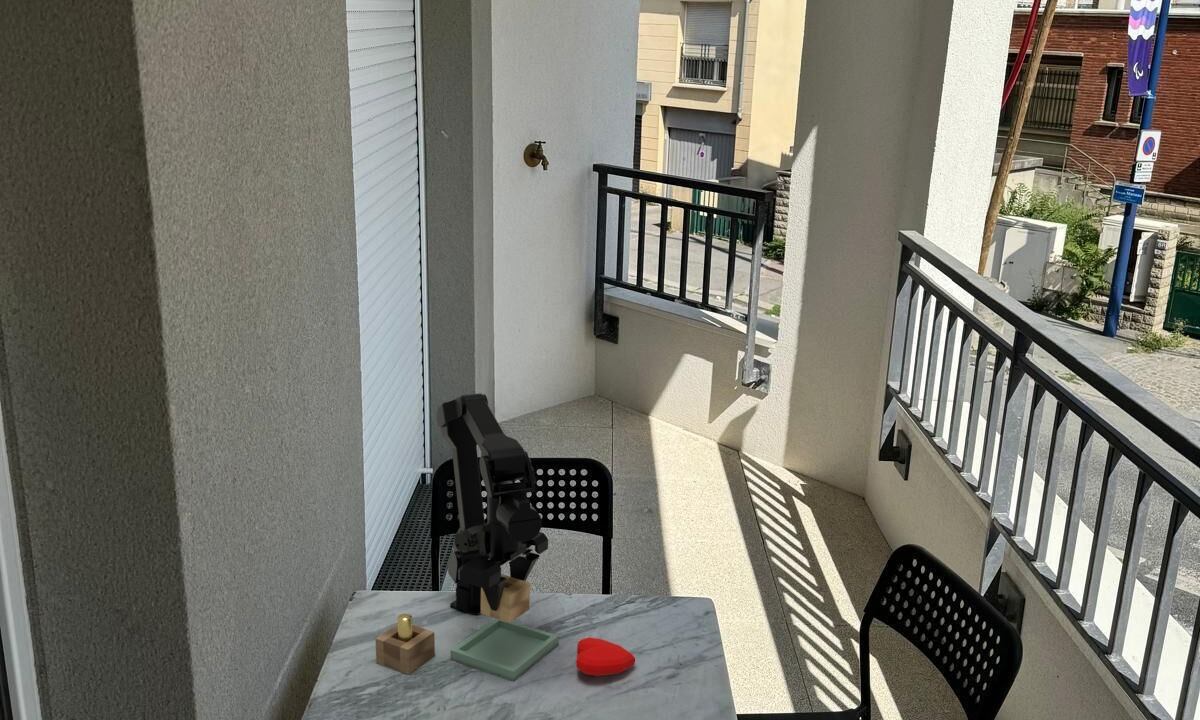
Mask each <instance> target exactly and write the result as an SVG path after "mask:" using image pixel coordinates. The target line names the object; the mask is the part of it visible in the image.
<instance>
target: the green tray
mask: <svg viewBox="0 0 1200 720" xmlns="http://www.w3.org/2000/svg"><path fill="white" fill-rule="evenodd" d="M559 639H560V638H559V635H558V634H554V633H551V632H548V631H545V630H542V629H539V628H536V627H533V626H530V625H526V624H523V623H520V622H517V621H515V620H513V621H512V622H510V623H508V622H505V621H502V620H499V619H496V618H494V619H492V620H491V621H490V622H488V623H486V624H485V625H484V626H483V627H481V628H480V629H478V630H477V631H476V632H474V633H472V635H470V636H469V637H467V638H466V639H464V640H463V641H461V642H460V643H459V644H457V645H455V646H454V647H453V648H451V649H450V660H451V661H454V662H457V663H459V664H462V665H466V666H468V667H470V668H471V667H472V668H474V669H476V670H480V671H482V672H485V673H488V674H491V675H494V676H497V677H501V678H502V679H506V680H509V681H511V682H514V681H516V680H517V679H518V678H519V677H521V676H522V675H523V674H524V673H526V672H527V671H528V670H530V669H531V668H532V667H533V666H534V665H536V664H537V663H539V661H540V660H542V659H543V658H544V657H545V656H547V655H548V654H549V653H550V652H551V651H553V650H555V648H557V647H558V646H559V645H560V644H559Z"/></svg>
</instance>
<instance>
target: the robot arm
mask: <svg viewBox="0 0 1200 720" xmlns="http://www.w3.org/2000/svg"><path fill="white" fill-rule="evenodd" d="M436 422H437V426H438V428H440V433H441V437H443V439H444V440H445V442H446V443H447V444H448V446H449V447H450V448H451V451H452V452H451V453H452V462H453V473H454V483H455V489H456V491H455V492H456V501H457V509H458V517H459V520H458V521H459V528H458V530H457V532H455V534H454V539H453V542H452V543H453V551H452V553H451V555H450V556H449V558H448V560H447V565H446V566H447V573H448V576H450V578H451V580H452V582H454V584H456V587H455V600H454V601H452V602H451V603H450V604H449V605H450V606H449V607H450V608H453V609H456V610H459V611H463V612H465V613H469V614H471V615H474V616H477V615H480V614H481V588H482V589H483V591H484V593H485V596H486V598H487V601H488V603H489V606H490V608H491V610H494V611H496V610H497V609H498V607H499V604H500V600H501V597H502V593H503V590H504V586H505V583H506V579H507V578H504V577H501V574H502V567H504V566H505V565H507V564H509V575H510V577H513V578H516V579H519V580H523V581H526V582H527V579H528V577H529V576H530V574H531V572H532V569H533V568H534V566H535V565H536V562H537V561H538V560H539V559H540V555H541V554H542V553H543V552H545V551H547V550H548V549H549V538H548V537H547V535H546V534H545V533H544V532H541V529H542V526H543V519H542V517H541V515H540V513H539V511H537V510H536V509H535V508H534V507H533V506H532V505H531V500H529V498H528V493H536V491H537V490H536V486H535V484H536V482H537V478H536V474H535V471H534V467H533V464H532V460H531V457H529V453H528V452H527V451H526V450H525V449H524V447H523V446H522V445H521V444H520V443H519V441H518V440H517V439H515V438H512V437H510V436H507V435H506V434H505V432H504V431H503V428H502V427H501V425H500V424H499V422H498V421H497V418H496V416H495V415H494V413H493V412H492V410H491V408H490V406H489V401H488V398H487V395H486V394H485V393H480V392H479V393H478V392H477V393H470V394H461V395H460V396H457V397H455V399H453V400H449V401H443V402H442V403H441V405H440V406H438V408H437V410H436ZM477 446H478V447H477ZM478 448H479V450H480V457H478V456H479V455H478ZM480 474H481V476H480ZM481 478H482V481H483V483H484V487H485V491H486V493H487V522H486V521H485V513H484V511H485V510H484V503H483V501H484V500H483V494H482V484H481V483H482V482H481ZM523 479H524V481H520V480H523ZM518 480H519V481H518ZM513 481H517V482H513ZM532 546H534V549H532ZM534 552H535V553H534Z"/></svg>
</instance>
